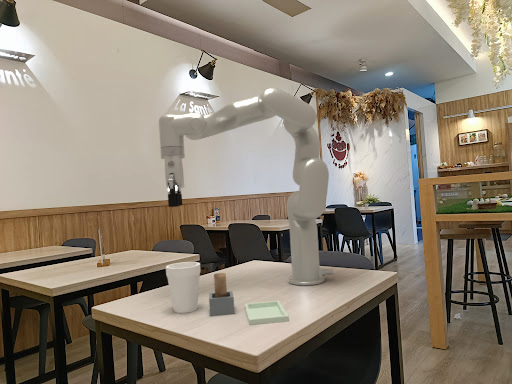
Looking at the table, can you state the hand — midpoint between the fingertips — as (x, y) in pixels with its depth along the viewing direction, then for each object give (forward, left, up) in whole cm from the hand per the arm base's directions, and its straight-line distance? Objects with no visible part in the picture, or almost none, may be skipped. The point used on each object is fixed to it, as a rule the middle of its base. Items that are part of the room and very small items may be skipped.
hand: (175, 206), depth 124 cm
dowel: (-13, +22, -28) cm, 38 cm away
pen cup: (-13, +22, -29) cm, 39 cm away
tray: (-24, +28, -29) cm, 47 cm away
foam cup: (-3, +17, -29) cm, 34 cm away
